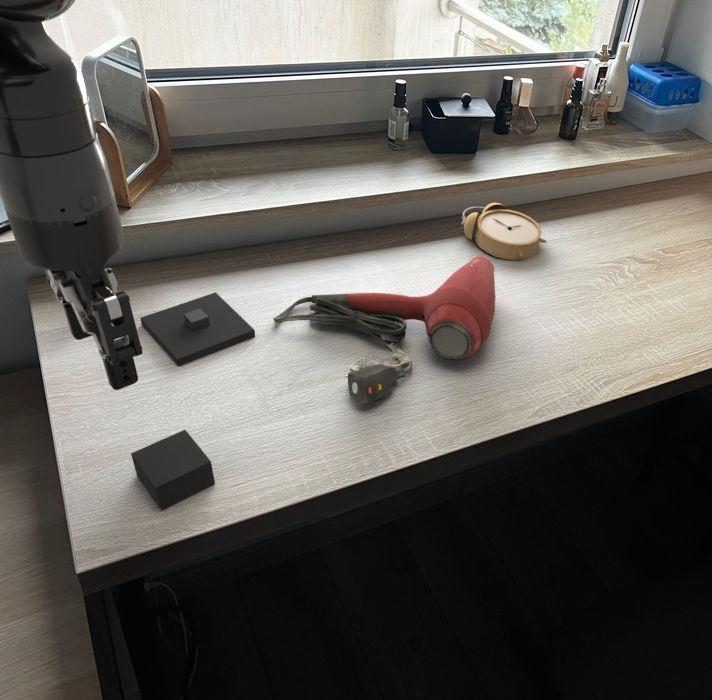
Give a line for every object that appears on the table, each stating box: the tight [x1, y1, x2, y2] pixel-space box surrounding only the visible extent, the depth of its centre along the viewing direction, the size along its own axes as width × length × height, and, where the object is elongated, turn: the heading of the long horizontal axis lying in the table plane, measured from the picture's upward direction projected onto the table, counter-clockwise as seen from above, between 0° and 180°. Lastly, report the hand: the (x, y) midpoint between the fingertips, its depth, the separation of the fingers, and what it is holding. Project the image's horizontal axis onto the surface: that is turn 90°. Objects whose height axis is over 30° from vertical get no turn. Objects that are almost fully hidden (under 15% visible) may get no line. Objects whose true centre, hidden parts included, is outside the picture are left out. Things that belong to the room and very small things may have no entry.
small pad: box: [130, 429, 216, 511], centre depth 77 cm, size 6×6×4 cm
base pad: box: [140, 292, 256, 367], centre depth 98 cm, size 11×11×3 cm
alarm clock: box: [461, 202, 547, 261], centre depth 125 cm, size 11×5×15 cm
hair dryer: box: [272, 255, 497, 404], centre depth 101 cm, size 33×25×9 cm
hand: (105, 359), depth 65 cm, fingers open, 8 cm apart
